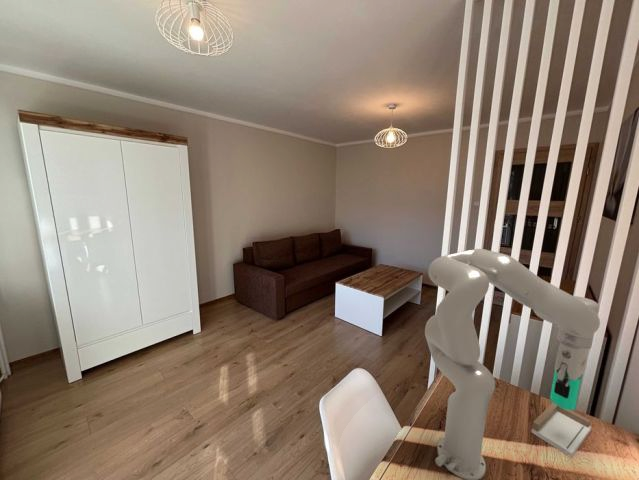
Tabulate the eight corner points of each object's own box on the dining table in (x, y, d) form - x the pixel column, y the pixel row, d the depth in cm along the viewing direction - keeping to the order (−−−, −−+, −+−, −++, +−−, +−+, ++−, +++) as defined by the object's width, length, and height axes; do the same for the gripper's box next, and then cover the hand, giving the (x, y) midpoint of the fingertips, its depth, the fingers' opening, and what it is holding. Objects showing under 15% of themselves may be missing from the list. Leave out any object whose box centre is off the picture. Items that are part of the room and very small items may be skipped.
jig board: (571, 457, 79) (573, 446, 78) (531, 432, 87) (533, 421, 87) (590, 430, 88) (592, 420, 88) (552, 410, 97) (554, 400, 96)
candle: (564, 396, 86) (571, 362, 84) (581, 411, 80) (588, 375, 78) (545, 394, 86) (550, 361, 84) (559, 409, 80) (566, 373, 78)
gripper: (581, 352, 72) (570, 411, 75) (600, 336, 81) (589, 389, 84) (547, 339, 78) (538, 394, 81) (568, 325, 87) (559, 375, 90)
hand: (564, 391), depth 82 cm, fingers closed on candle, 4 cm apart
